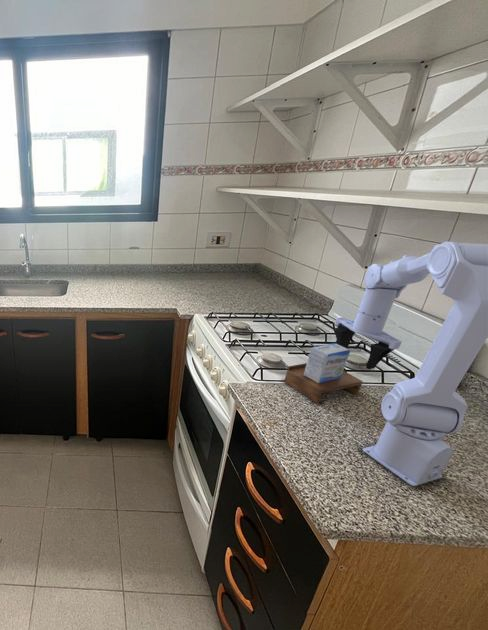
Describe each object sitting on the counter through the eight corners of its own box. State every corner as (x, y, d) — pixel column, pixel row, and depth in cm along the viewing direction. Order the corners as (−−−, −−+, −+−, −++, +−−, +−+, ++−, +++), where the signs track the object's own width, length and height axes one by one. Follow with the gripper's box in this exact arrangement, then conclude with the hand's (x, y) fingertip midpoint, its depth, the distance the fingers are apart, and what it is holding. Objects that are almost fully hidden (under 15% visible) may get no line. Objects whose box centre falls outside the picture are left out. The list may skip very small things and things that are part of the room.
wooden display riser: (358, 394, 91) (364, 378, 89) (316, 403, 88) (321, 387, 86) (323, 373, 100) (328, 358, 98) (284, 381, 96) (288, 366, 94)
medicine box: (318, 384, 88) (327, 355, 85) (302, 375, 92) (311, 346, 89) (340, 378, 90) (351, 350, 87) (324, 370, 94) (334, 342, 91)
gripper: (418, 322, 80) (396, 372, 85) (355, 300, 92) (340, 345, 98) (396, 326, 78) (375, 377, 83) (335, 303, 91) (320, 348, 96)
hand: (355, 360), depth 90 cm, fingers open, 7 cm apart
